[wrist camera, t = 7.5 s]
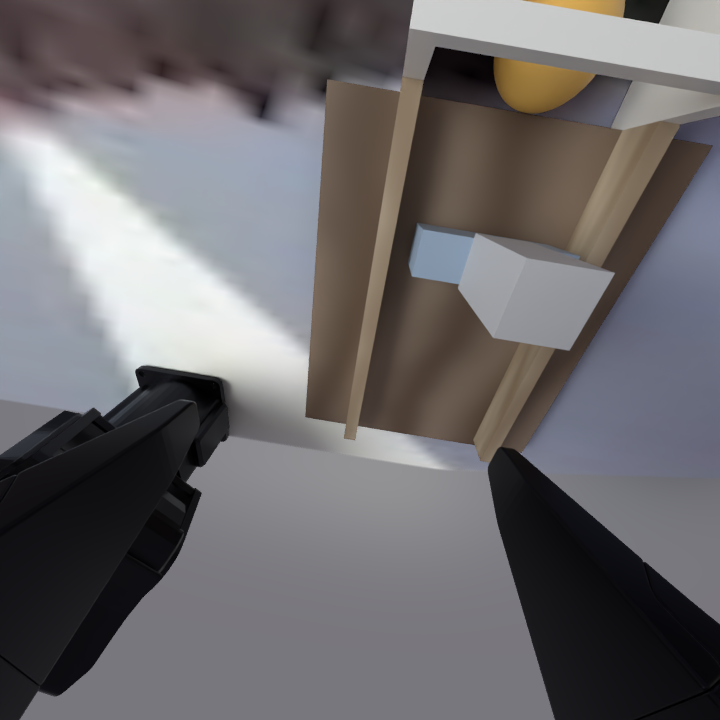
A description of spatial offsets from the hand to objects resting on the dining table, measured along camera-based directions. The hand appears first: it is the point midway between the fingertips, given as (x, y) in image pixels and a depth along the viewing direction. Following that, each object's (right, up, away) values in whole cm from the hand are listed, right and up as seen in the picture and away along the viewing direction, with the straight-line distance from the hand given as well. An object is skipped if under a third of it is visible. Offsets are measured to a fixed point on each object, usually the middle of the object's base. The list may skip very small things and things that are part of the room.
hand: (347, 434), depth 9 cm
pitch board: (+6, +5, +10) cm, 13 cm away
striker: (+7, +8, +7) cm, 12 cm away
